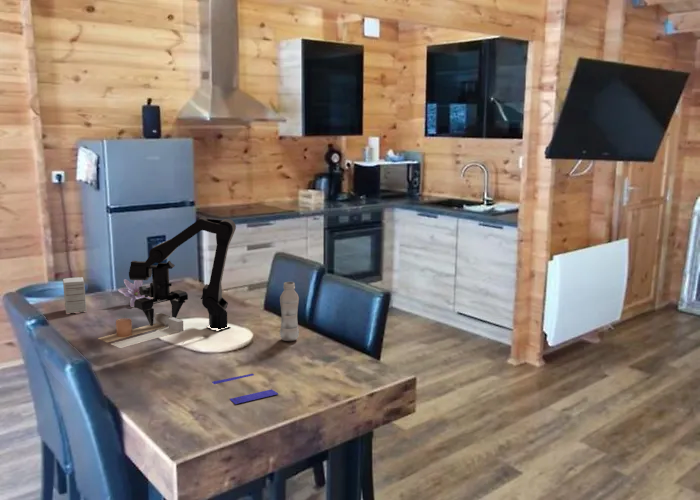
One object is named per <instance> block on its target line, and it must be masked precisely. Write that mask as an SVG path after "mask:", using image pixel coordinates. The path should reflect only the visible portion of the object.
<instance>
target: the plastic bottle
mask: <svg viewBox="0 0 700 500" xmlns="http://www.w3.org/2000/svg"><path fill="white" fill-rule="evenodd" d="M295 289H296V284H295V282H294V281H285V282H283V291H282V293H281V294H280V296H279V303H280V313H281V318H280V319H281V321H280V322H281V323H280V328H279V329H280V330H279V337H280V338H281V340H282V341H285V342H294V341H296V340H297V339H298V338H299V336H300V329H299V323H298V309H299V300H300V297H299V294H298V292H296V290H295Z"/></svg>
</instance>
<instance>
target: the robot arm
mask: <svg viewBox="0 0 700 500" xmlns="http://www.w3.org/2000/svg"><path fill="white" fill-rule="evenodd" d="M236 228H237V224H236V223H235V221H234V220H232V219H230V218H225V219H223V220H222V219H216V218H215V219H213V218H206V217H204V216H203V217H199V218H198V219H197V220H196V221H195V222H193V223H192V224H190V225H189V226H187V227H186V228H185V229H183V230H182V231H180V232H179V233H178V234H176V235H175V236H173V237H172V238H169V239H168V240H165V241H163V242H161V243H159V244H157V245H155V246H154V247H152V248H151V249H150V250H149V254H148V255H149V257H148V258H147V259H146V260H145V261H142V260H141V261H140V260H139V261H138V260H132V261H131V262H130V266H129V270H128V278H129V280H130V281H134V280H143V281H148V280H149V279H150V278H151V280H152V282H150V283H149V284H150V285H149V286H146V285H142V286H141V287H139V291H138V292H139V293H140V295H141V296H142V295H145V297H144V298H139V299H136V300H135V301H134V308H136V309H138V310H140V311H142V312H143V313H144V315H145V317H146V319H147V321H148V322H147V323H148V325H150V326H153V324H154V317H155V315H154V314H155V308H153V306H154V305H155V304H156V305H157V304H159V303H164V302H167V301H169V302H170V304H171V318H172V317H174V318H177V317H178V313H179V312H180V310H181V308H182V306H183V305H184V303H186V301H187V300H189V294H188V292H187V291H184V290H181V289H177V290H172V291H171V290H170V287H172V286H173V285H172V283H171V282H170V269H171V270H172V269H173V268H175V264H174V263H172V261H171V260H168V261H167V262H164V261H166V260H167V259H168V258H169V257H170V256H171V255H172V254H173V253H174V252H175V251H176V250H177V248H178V247H180V246H182V245H183V244H184V243H185V242H187V241H188V240H190V239H191V238H193V237H194V236H196V235H197V234H198V233H200V232H201V231H204V232H208V233H211V234H215V240H216V248H215V253H214V257H213V263H212V264H213V265H212V269H211V273H210V279H209V283H208V284H205V285H204V286H203V287H202V295H201V297H200V300H201V303H202V305H203V307H204V308H205V309H206V310H207V312H208V326H209V325H210V327H211V328H218V329H221V328H225V327H227V325H228V311H227V307H228V305H229V302H228V301H227V300H225V298H223V290H222V289H223V287H222V282H223V274H224V271H225V266H226V261H227V255H228V251H229V246H230V244H231V241H232V240H233V237H234V234H235V231H236ZM147 287H148V288H147ZM146 297H149V298H151V299H148V298H146Z"/></svg>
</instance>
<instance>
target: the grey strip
mask: <svg viewBox="0 0 700 500" xmlns="http://www.w3.org/2000/svg"><path fill="white" fill-rule="evenodd" d="M184 329H185V328H184V320H183V319H179V318H177V317H176V318H174V317H172V316H171V317H170V318H168V326H167V327H166V328H164V329H163V328H162V329H158V330H156V331H153V332H152V331H151V332H148V333H145V334H141V335H138V336H137V335H136V336H134V337H130V338H127V339H126V338H125V339H124V340H123V339H122V340H120V341H116V342H112V343H110V345H112V346H114V347H117V348H119V349H122V348H125V347H129V346H133V345H137V344H139V343H143V342H147V341H148V342H149V341H150V340H154V339H158V338H162V337H164V336H168V335H169V336H170V335H173V334H176V333H180V332H183V331H184Z"/></svg>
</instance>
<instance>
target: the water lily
mask: <svg viewBox="0 0 700 500" xmlns="http://www.w3.org/2000/svg"><path fill="white" fill-rule="evenodd" d="M123 282H124V285H125V286H126V288H123V287H122V288H118V290H117V291H118V292H119V293H120V294H123V295H124V297H126V298H130V302H129V305H130V308H131V307H132V306H134V301H135V300H136V299H139V298H144V297H145V295H142V296H141V295H140V293H139V287H141V286H143V283H144V280H133V283H132V282H131V281H129V280H128V279H125V278H124V279H123ZM146 287H147V288H148V287H149V286H146ZM146 298H148V299H152V298H151V297H149V296H148V297H146Z"/></svg>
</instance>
